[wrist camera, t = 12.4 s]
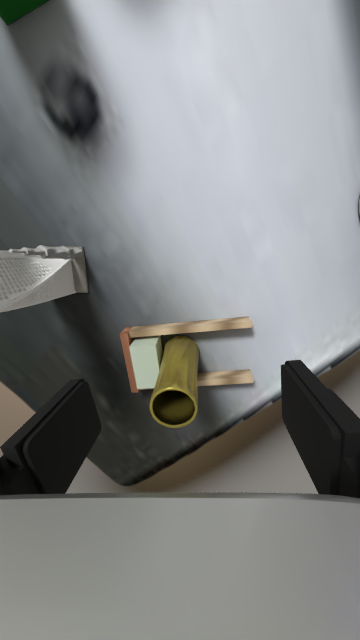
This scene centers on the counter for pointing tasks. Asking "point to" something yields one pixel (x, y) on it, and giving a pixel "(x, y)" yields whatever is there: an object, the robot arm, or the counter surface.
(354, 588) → the robot arm
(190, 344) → the vase
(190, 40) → the counter surface
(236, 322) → the track
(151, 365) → the block
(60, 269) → the skyscraper
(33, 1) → the milk carton
